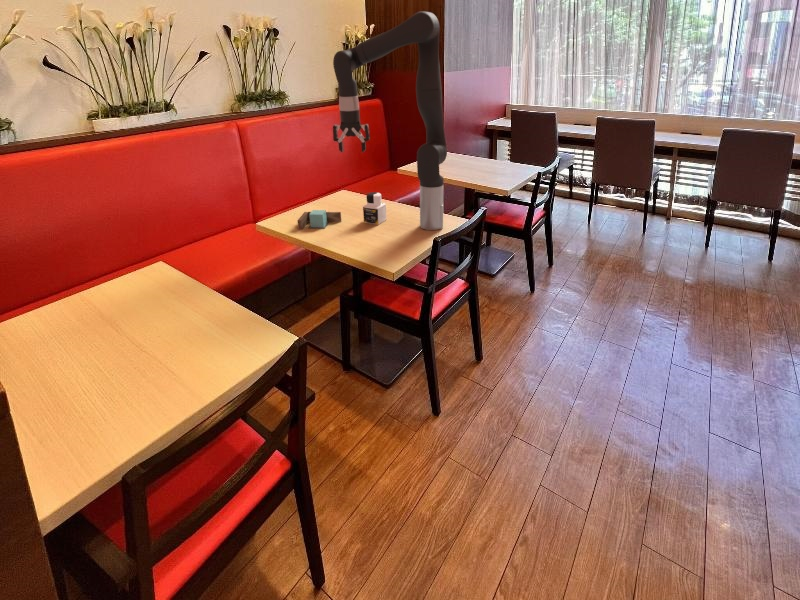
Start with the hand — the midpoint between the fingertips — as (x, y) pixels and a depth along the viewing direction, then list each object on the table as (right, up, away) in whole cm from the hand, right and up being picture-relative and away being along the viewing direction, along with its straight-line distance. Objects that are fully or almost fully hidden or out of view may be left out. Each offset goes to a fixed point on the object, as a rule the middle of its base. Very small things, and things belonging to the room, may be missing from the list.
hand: (352, 151), depth 194 cm
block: (-15, -28, +8) cm, 33 cm away
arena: (-14, -28, +8) cm, 33 cm away
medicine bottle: (+9, -26, +11) cm, 30 cm away
